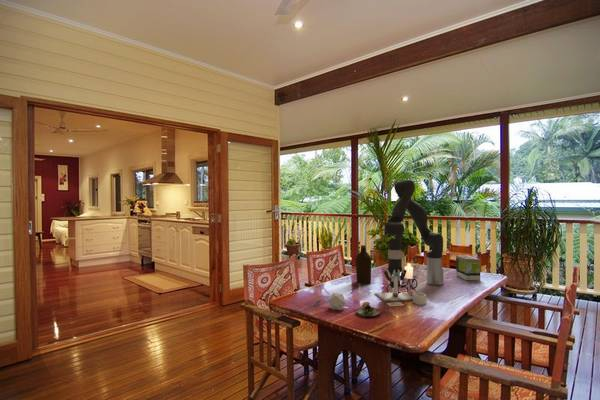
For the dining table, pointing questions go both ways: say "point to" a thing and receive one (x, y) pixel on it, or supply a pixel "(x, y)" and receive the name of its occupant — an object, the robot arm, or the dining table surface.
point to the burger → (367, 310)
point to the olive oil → (363, 266)
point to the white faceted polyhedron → (337, 301)
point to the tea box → (468, 267)
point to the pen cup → (419, 298)
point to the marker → (395, 284)
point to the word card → (395, 304)
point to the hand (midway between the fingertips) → (395, 287)
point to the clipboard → (395, 297)
